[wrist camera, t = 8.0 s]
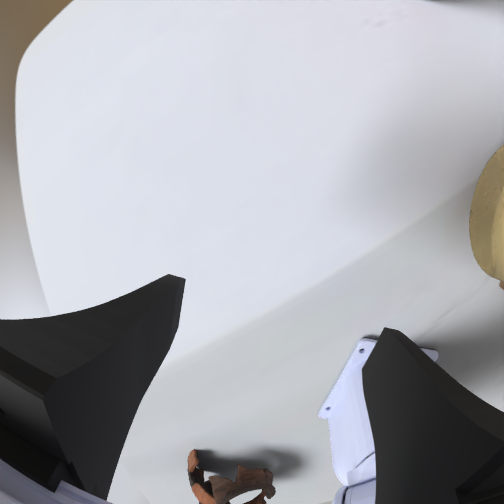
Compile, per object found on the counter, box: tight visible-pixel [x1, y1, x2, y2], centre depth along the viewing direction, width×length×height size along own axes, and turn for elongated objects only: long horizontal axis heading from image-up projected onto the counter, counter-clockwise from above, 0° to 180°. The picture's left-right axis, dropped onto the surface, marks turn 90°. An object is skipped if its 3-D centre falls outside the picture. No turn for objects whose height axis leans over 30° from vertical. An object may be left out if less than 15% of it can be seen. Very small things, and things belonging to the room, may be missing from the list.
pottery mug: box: [188, 449, 276, 504], centre depth 29 cm, size 12×10×8 cm
